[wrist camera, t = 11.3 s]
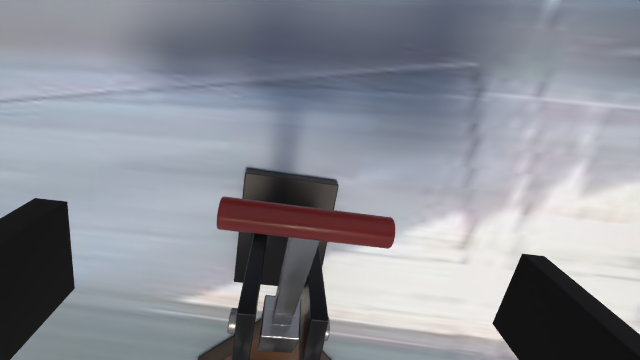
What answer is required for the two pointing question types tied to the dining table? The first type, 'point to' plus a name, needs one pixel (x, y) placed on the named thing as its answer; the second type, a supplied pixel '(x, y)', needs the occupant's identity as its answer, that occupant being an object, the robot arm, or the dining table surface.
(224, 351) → the dial panel
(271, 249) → the black upright bracket
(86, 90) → the dining table surface
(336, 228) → the lever
